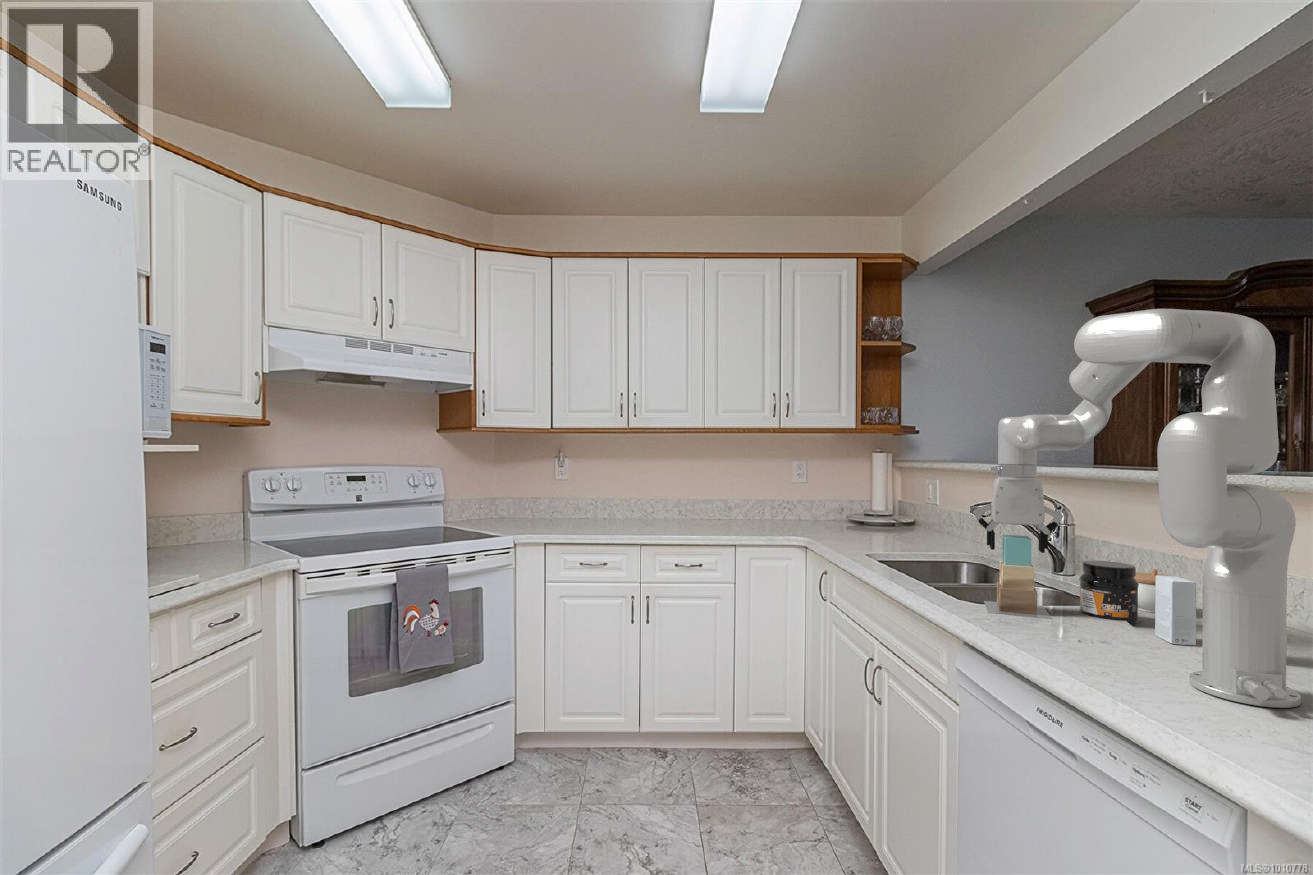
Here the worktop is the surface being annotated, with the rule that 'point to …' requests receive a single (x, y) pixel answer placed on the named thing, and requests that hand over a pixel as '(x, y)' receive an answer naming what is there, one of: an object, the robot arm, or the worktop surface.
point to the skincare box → (1175, 610)
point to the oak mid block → (1017, 577)
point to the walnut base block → (1016, 600)
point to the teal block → (1016, 550)
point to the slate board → (994, 609)
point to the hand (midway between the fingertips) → (1016, 550)
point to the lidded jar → (1147, 590)
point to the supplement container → (1109, 591)
